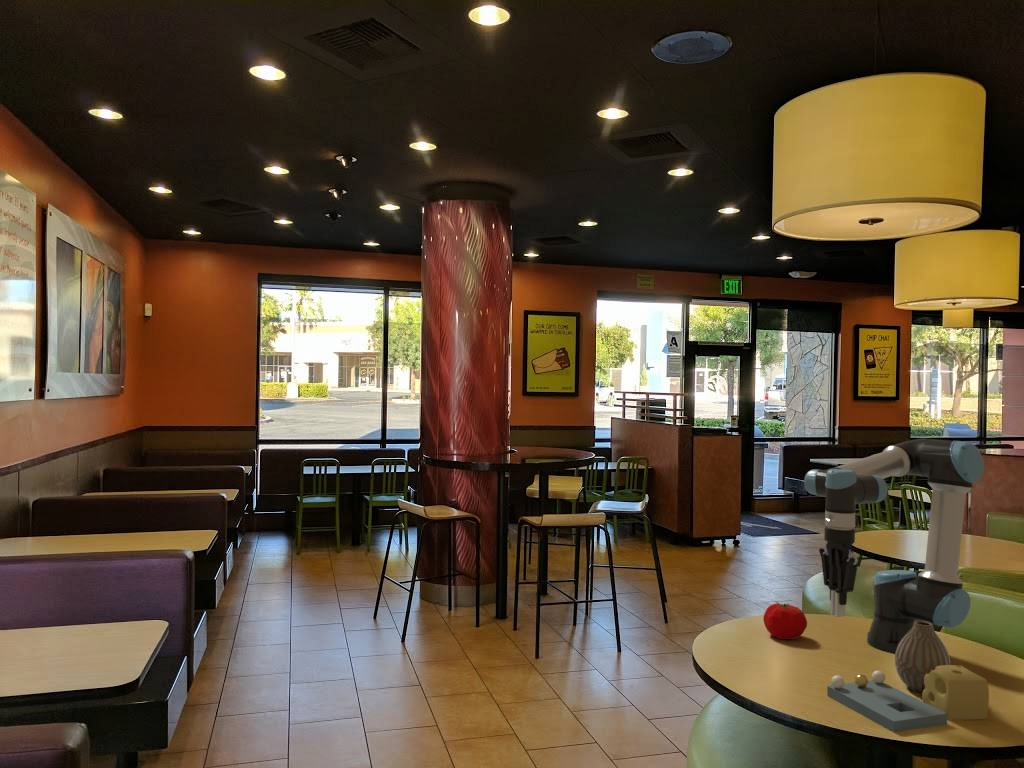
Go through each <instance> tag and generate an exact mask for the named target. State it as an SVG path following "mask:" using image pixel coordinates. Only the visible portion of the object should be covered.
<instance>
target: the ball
mask: <svg viewBox="0 0 1024 768" xmlns="http://www.w3.org/2000/svg"><path fill="white" fill-rule="evenodd" d="M868 681H869V680H868V677H867V676H866V675H864V674H861V673H860V674H857V675H856V676H855V677H854V683H855V684H856V685H857V686H858V687H861V688H863V687H866V686H867V684H868Z"/></svg>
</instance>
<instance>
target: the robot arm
mask: <svg viewBox="0 0 1024 768" xmlns="http://www.w3.org/2000/svg"><path fill="white" fill-rule="evenodd" d="M984 470H985V469H984V459H983V456H982V454H981V452H980V450H979V448H978V447H977V446H976V445H974V444H973V443H971V442H968V441H960V440H946V439H945V440H944V439H934V438H917V439H911V440H907V441H903V442H900V443H896V444H893V445H889V446H887V447H886V448H884V449H883V451H882V452H879V453H876V454H872V455H870V456H866V457H863V458H860V459H857V460H854V461H851V462H847V463H845V464H841V465H839V466H835V467H832V468H831V467H830V468H828V469H820V468H818V469H811V470H809V471H807V473H805V476H804V479H803V480H804V481H803V483H804V488H805V490H806V491H807V492H808V494H811V495H814V496H817V497H824V498H825V507H824V511H825V514H824V525H825V527H824V541H825V542H826V544H825V547H823V548H819V549H818V552H819V556H820V558H821V567H822V577H823V584H824V586H827V587H828V589H829V601H830V615H831V616H834V617H836V618H840V617H846V606H847V604H848V603H847V602H848V601H847V599H848V598H847V597H848V595H847V594H849V593H851V592H854V587H855V583H856V576H857V570H858V566H859V564H860V562H861V558H860V557H859V556H856V555H854V551H853V544H854V543H855V542H856V540H855V539H856V531H855V529H854V528H855V527H856V505H861V504H862V505H863V504H871V505H872V504H875V503H879V502H882V501H884V500H885V499H886V497H887V495H888V484H887V483H886V480H884V479H887V478H890V477H892V476H893V477H904V476H919V477H925V478H927V484H928V485H929V487H931V489H932V493H931V494H932V496H931V503H930V504H931V505H930V511H929V512H930V513H929V523H928V524H929V525H928V533H927V534H928V535H927V543H926V552H925V563H924V569H923V570H922V571H921V572H919V573H918V574H917V572H915V571H914V570H913V571H912V570H907V569H906V570H904V569H887V570H885V569H884V570H880V571H877V572H876V573H875V576H874V584H873V586H874V587H873V588H874V589H873V591H874V593H873V595H874V596H873V597H874V598H873V619H872V622H871V624H870V628H869V631H868V633H867V635H866V636H867V639H866V641H867V643H868V644H869V646H871V647H873V648H875V649H878V650H881V651H886V652H890V653H894V654H895V653H896V649H897V646H898V644H899V642H900V640H901V639H902V638H903V637H904V636H905V634H906V633H907V632H908V631H909V630H911V628H912V627H913V625H914V622H915V621H917V620H918V621H925V622H929V623H932V624H933V625H935V626H936V627H937V626H938V627H944V628H949V629H950V628H951V629H952V628H956V627H959V626H960V625H962V623H963V622H964V621H965V620H966V619H967V617H968V615H969V612H970V610H971V598H970V593H968V592H967V591H966V590H965V589H963V585H964V581H963V580H962V579H961V578H960V577H959V576H958V574H959V565H960V556H961V555H960V554H961V545H962V535H963V533H962V532H963V525H964V516H965V515H964V513H965V506H966V505H965V503H966V494H967V493H968V492H970V491H971V490H973V485H974V484H975V483H978V482H979V481H980V480H981V478H982V477H983V475H984Z"/></svg>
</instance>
